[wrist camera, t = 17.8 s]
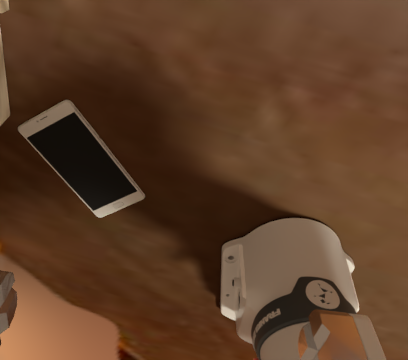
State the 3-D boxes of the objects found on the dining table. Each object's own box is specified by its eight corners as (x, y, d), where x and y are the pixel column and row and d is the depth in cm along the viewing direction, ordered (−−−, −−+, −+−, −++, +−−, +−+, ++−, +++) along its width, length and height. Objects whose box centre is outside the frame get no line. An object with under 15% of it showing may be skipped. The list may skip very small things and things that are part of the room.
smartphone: (98, 219, 50) (14, 128, 42) (99, 216, 50) (16, 125, 43) (146, 198, 48) (67, 98, 40) (147, 195, 48) (69, 96, 41)
